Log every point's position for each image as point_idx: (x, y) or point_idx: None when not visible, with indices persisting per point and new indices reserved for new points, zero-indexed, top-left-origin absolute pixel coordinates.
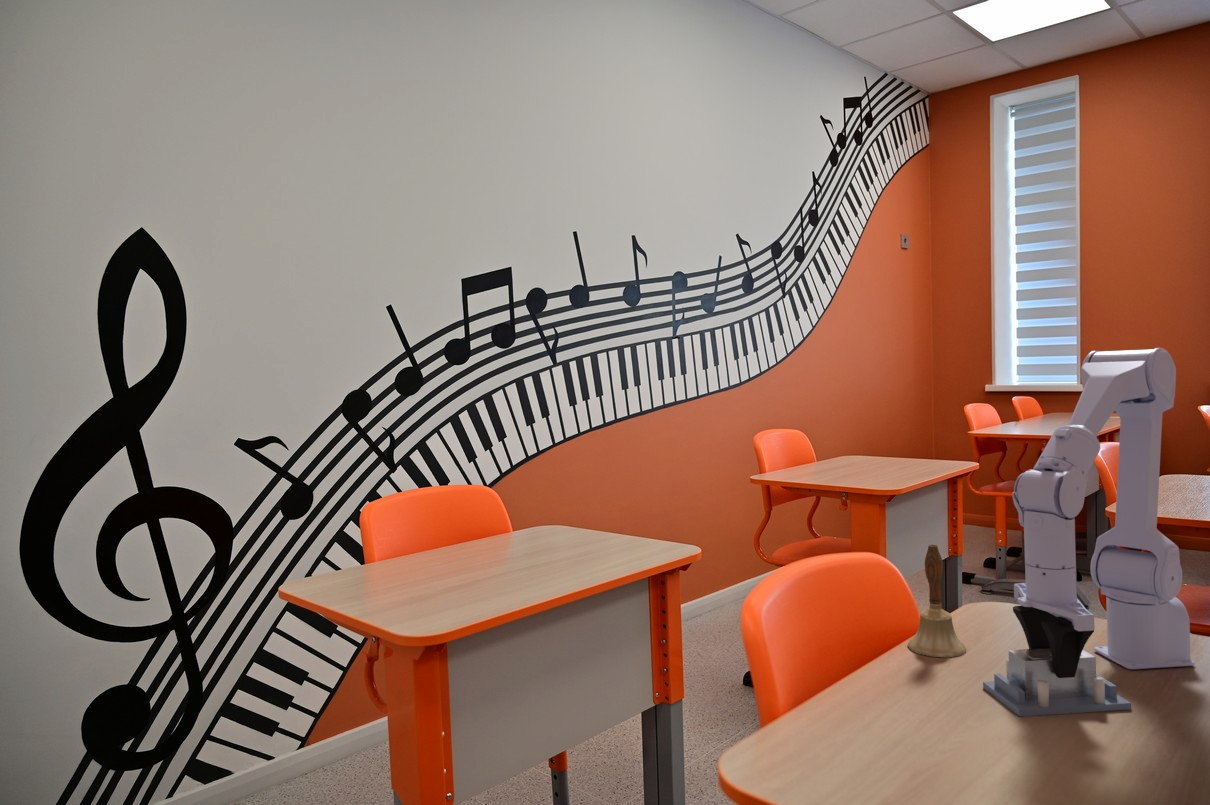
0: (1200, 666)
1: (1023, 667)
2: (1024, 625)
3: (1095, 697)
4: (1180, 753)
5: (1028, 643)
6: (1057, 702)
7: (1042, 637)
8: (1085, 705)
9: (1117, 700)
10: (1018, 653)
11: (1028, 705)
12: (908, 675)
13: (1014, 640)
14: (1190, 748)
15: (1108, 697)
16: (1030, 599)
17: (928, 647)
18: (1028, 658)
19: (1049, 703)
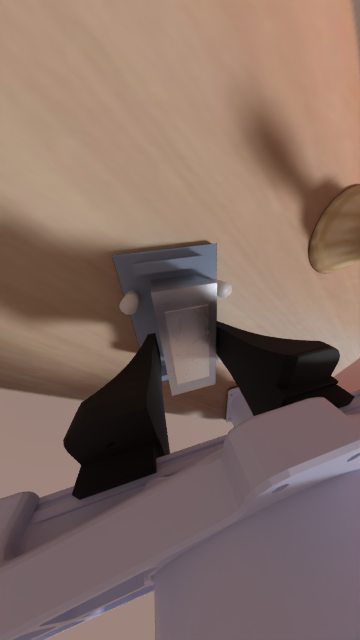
0: (225, 421)
1: (156, 288)
2: (257, 342)
3: None
4: (45, 384)
5: (232, 328)
6: (145, 316)
7: (230, 355)
8: (139, 341)
9: None
10: (197, 296)
11: (131, 276)
12: (284, 118)
13: (313, 329)
14: (63, 392)
15: (161, 365)
16: (292, 503)
17: (345, 206)
18: (167, 305)
19: (141, 306)
